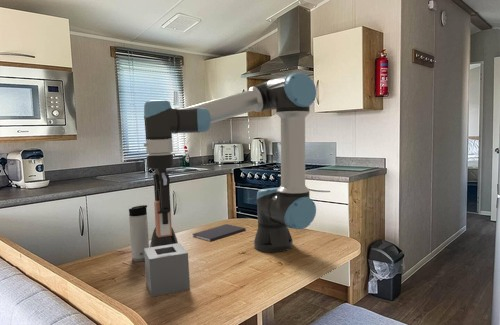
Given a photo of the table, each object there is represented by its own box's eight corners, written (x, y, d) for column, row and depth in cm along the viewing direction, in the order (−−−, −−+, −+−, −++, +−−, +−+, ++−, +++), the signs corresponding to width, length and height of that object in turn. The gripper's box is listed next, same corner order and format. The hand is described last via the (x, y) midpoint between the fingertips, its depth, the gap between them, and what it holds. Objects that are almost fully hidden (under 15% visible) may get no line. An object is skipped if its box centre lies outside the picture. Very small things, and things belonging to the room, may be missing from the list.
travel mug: (145, 262, 135) (142, 207, 133) (128, 261, 136) (125, 207, 134) (153, 256, 141) (150, 203, 139) (137, 255, 142) (133, 203, 141)
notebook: (210, 242, 157) (245, 231, 173) (210, 238, 157) (245, 227, 173) (191, 237, 166) (226, 227, 181) (191, 234, 166) (226, 224, 181)
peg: (169, 232, 114) (167, 199, 113) (171, 235, 111) (170, 201, 110) (155, 233, 113) (154, 201, 112) (158, 237, 109) (156, 203, 108)
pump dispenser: (154, 271, 125) (151, 227, 124) (147, 262, 134) (144, 220, 133) (184, 265, 130) (181, 222, 129) (175, 257, 139) (173, 216, 138)
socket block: (181, 276, 120) (179, 242, 119) (189, 289, 110) (187, 252, 109) (146, 283, 116) (144, 248, 115) (151, 297, 106) (149, 259, 105)
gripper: (142, 153, 116) (146, 227, 118) (151, 156, 100) (155, 242, 102) (167, 152, 119) (170, 224, 121) (178, 154, 103) (182, 238, 105)
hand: (163, 232), depth 112 cm, fingers closed on peg, 4 cm apart
